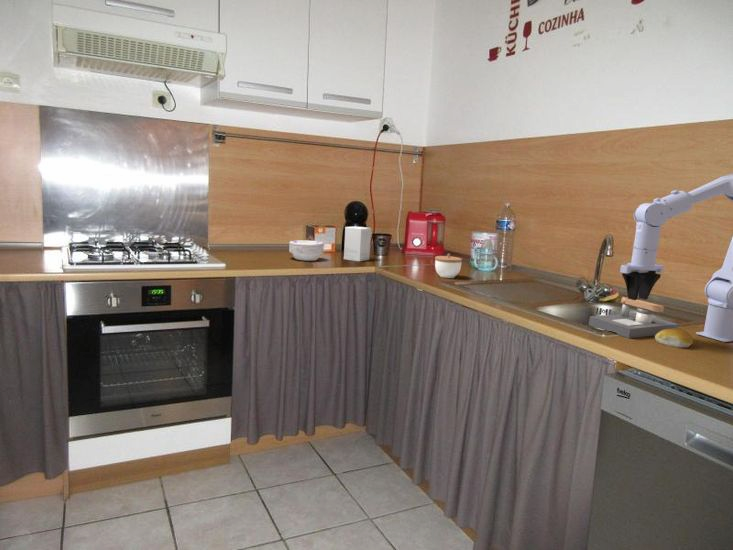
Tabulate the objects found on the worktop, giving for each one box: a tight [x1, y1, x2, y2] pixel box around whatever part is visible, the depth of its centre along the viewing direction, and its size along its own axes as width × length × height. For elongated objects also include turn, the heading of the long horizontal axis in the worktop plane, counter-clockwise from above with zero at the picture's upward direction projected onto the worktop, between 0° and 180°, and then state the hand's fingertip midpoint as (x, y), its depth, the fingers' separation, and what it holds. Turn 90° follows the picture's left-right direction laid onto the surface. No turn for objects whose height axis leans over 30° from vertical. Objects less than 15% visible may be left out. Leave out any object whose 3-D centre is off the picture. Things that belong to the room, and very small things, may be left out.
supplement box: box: [343, 226, 372, 262], centre depth 248 cm, size 9×9×15 cm
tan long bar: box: [620, 296, 665, 313], centre depth 151 cm, size 12×3×2 cm, turn 27°
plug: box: [635, 307, 654, 324], centre depth 150 cm, size 4×4×6 cm
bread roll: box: [654, 328, 694, 349], centre depth 139 cm, size 8×9×4 cm
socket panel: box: [588, 303, 679, 339], centre depth 151 cm, size 20×13×6 cm, turn 117°
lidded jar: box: [434, 253, 463, 279], centre depth 217 cm, size 11×11×9 cm
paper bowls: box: [288, 239, 325, 262], centre depth 239 cm, size 15×15×8 cm
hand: (637, 299), depth 145 cm, fingers open, 4 cm apart
